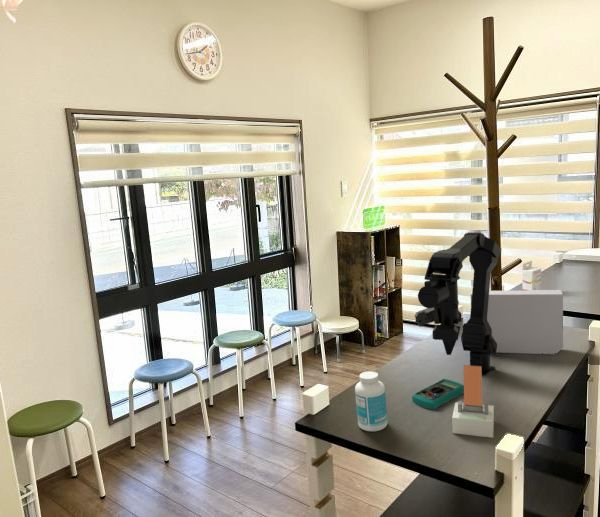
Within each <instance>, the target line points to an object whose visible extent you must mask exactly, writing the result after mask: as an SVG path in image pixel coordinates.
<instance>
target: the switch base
mask: <svg viewBox="0 0 600 517" xmlns="http://www.w3.org/2000/svg"><path fill="white" fill-rule="evenodd" d="M463 404H464V402H463V400H458V401H457V402H454V408H453V413H452V417H451V421H452V423H451V425H452V434H456V435H457V434H458V435H466V436H474V437H483V438H484V437H485V438H492V439H493V438H494V432H495V431H494V430H495V429H494V428H495V409H494V408H495V407H494V405H489V403H487V402H484V404H482V406H483V412H472V411H463Z"/></svg>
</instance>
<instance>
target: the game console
mask: <svg viewBox="0 0 600 517" xmlns="http://www.w3.org/2000/svg"><path fill="white" fill-rule="evenodd" d="M471 301H472V290H471V291H470V302H471ZM487 321H488V323H489V325H490V327H491V329H492V337H493V338H494V340H495V341H496V343H497V350H496V353H498V354H499V353H502V354H505V353H506V354H529V355H530V354H531V355H532V354H533V355H537V354H538V355H549V354H548V353H556V354H558V353H559V352H560V351H561V350H562V349H563V348H564V293H563V292H562V290H561V289H541V290H527V291H523V290H489V300H488V312H487ZM542 353H543V354H542Z"/></svg>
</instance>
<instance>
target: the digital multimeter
mask: <svg viewBox="0 0 600 517" xmlns="http://www.w3.org/2000/svg"><path fill="white" fill-rule="evenodd" d="M462 394H463V395H464V384H462V383H460V382H457V381H454V380H451V379H447V378H442V379H441V380H439V381H437V382H435V383H433V384H431V385H429V386H427V387H425V388H423V389H421V390H420V391H416V392H415V393H414V394H412V398H411V399H412V402H413V403H414V404H416V405H417V406H421V407H423V408H426V409H429V410H436V409H437V408H439V407H441V406H442V405H444V404H446V403H448V402H450V401H451V400H453V399H455V398H457V397H459V396H461V395H462Z"/></svg>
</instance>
